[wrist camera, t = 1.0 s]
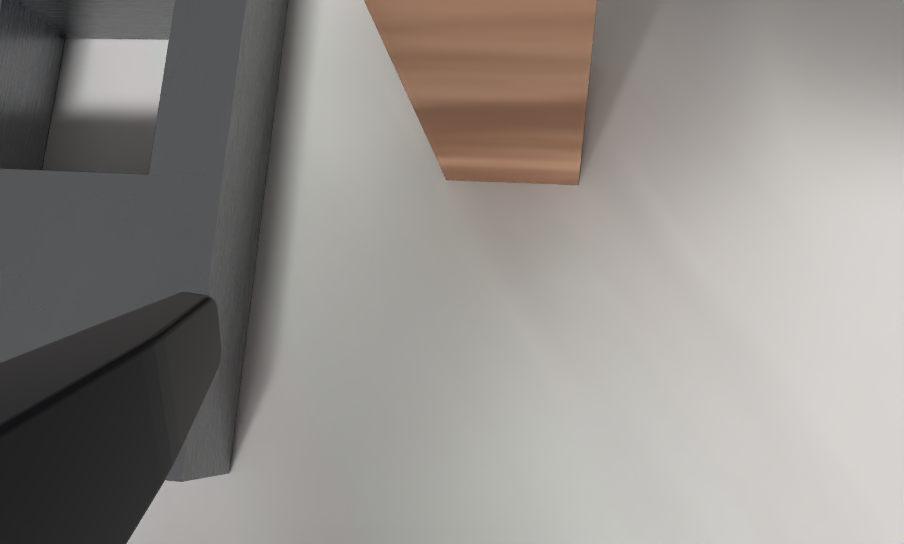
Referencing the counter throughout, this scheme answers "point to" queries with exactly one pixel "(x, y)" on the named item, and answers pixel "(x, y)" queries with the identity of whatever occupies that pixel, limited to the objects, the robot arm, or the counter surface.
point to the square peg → (495, 82)
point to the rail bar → (141, 186)
